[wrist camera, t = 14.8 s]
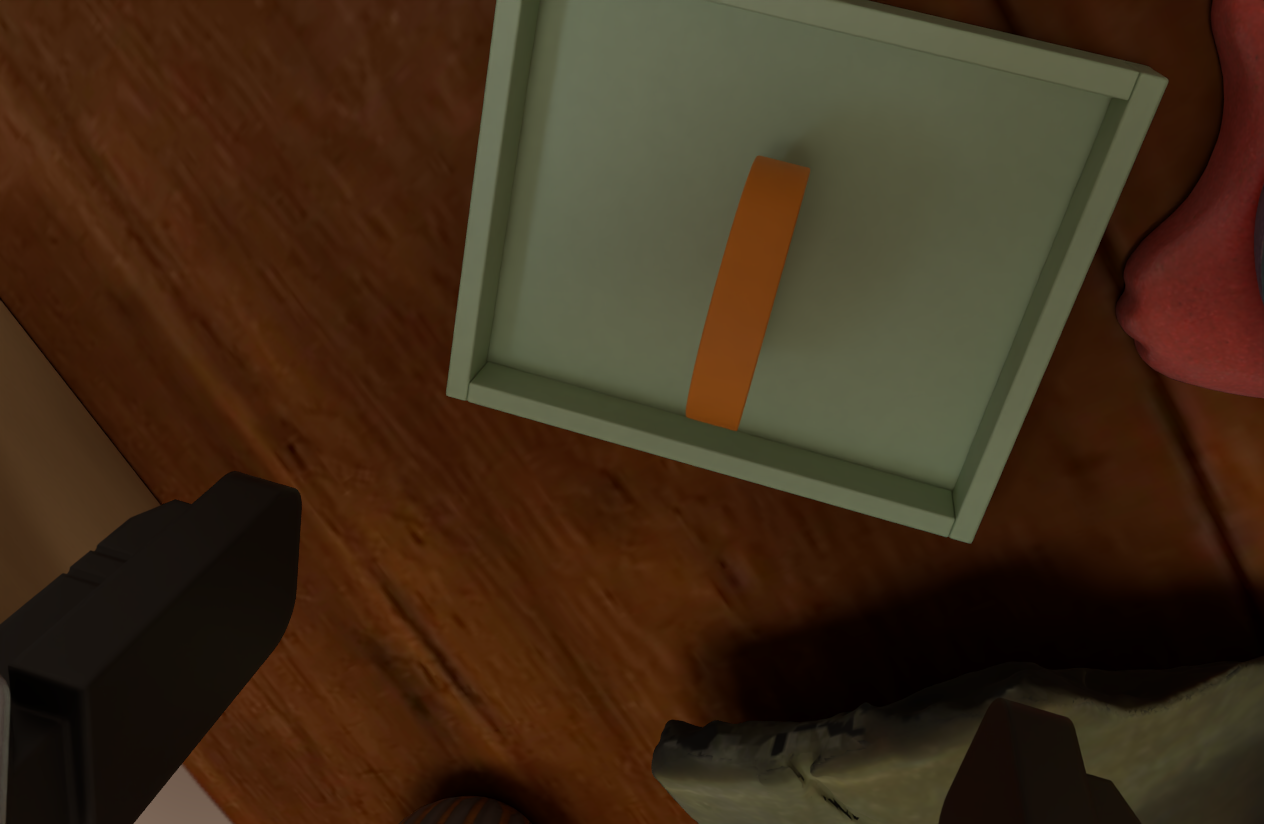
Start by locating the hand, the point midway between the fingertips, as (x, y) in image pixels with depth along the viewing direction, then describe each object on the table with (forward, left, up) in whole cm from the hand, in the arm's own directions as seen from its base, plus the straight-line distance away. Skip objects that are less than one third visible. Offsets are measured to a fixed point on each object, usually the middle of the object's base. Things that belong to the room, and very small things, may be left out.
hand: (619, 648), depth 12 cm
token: (0, 0, -13) cm, 13 cm away
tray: (0, 0, -17) cm, 17 cm away
